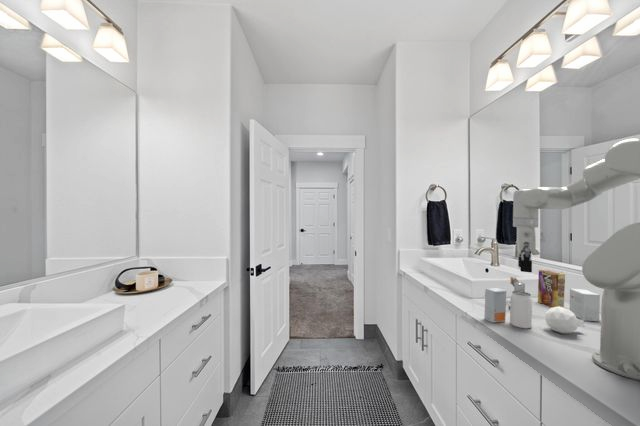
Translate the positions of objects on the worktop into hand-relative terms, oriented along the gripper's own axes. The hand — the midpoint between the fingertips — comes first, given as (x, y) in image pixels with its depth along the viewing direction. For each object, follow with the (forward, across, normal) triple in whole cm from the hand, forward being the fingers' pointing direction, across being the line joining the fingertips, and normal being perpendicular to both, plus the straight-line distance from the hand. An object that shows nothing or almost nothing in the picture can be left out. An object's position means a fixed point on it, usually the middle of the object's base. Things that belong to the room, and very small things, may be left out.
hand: (524, 269), depth 103 cm
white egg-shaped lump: (+21, +1, -12) cm, 24 cm away
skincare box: (+21, 0, +9) cm, 23 cm away
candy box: (+21, +35, -12) cm, 43 cm away
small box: (+21, +24, -21) cm, 39 cm away
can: (+21, 0, +1) cm, 21 cm away
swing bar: (+13, +26, +1) cm, 29 cm away
